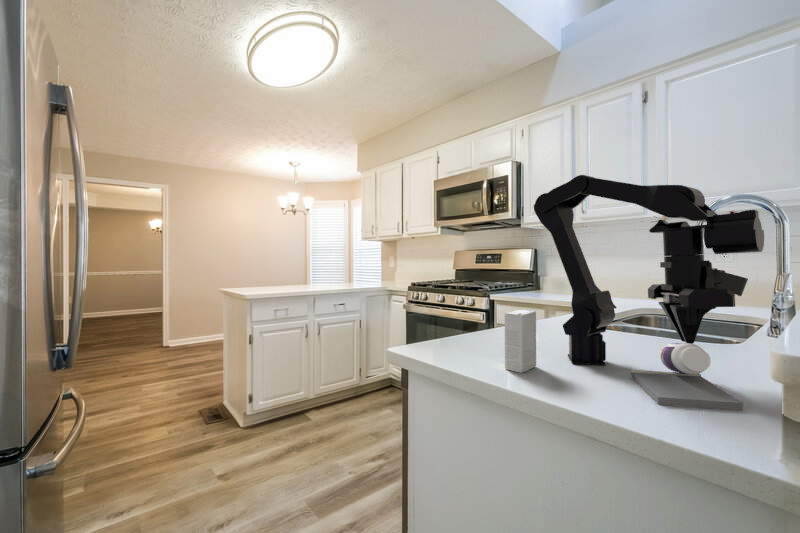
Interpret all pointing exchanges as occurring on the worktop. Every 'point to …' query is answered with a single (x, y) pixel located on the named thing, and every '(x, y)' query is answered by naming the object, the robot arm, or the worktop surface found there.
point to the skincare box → (520, 340)
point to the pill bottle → (685, 358)
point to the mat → (684, 390)
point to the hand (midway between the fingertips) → (687, 342)
